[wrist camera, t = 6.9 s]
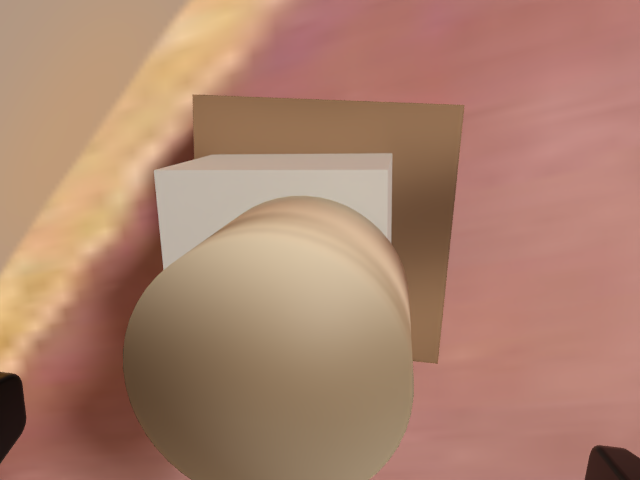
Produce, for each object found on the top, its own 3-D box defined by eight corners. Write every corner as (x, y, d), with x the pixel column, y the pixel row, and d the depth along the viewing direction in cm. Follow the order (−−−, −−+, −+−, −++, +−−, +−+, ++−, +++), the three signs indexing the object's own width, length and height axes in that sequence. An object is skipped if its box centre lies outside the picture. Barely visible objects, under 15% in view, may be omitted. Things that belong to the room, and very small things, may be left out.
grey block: (390, 327, 17) (385, 393, 13) (224, 320, 18) (174, 380, 14) (392, 153, 16) (388, 169, 12) (212, 154, 16) (153, 170, 13)
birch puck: (402, 400, 13) (404, 524, 9) (207, 382, 14) (132, 490, 10) (415, 200, 12) (423, 247, 8) (199, 191, 12) (112, 230, 9)
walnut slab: (431, 315, 21) (437, 363, 17) (234, 296, 22) (198, 338, 18) (452, 104, 19) (464, 105, 15) (233, 96, 20) (192, 94, 16)
